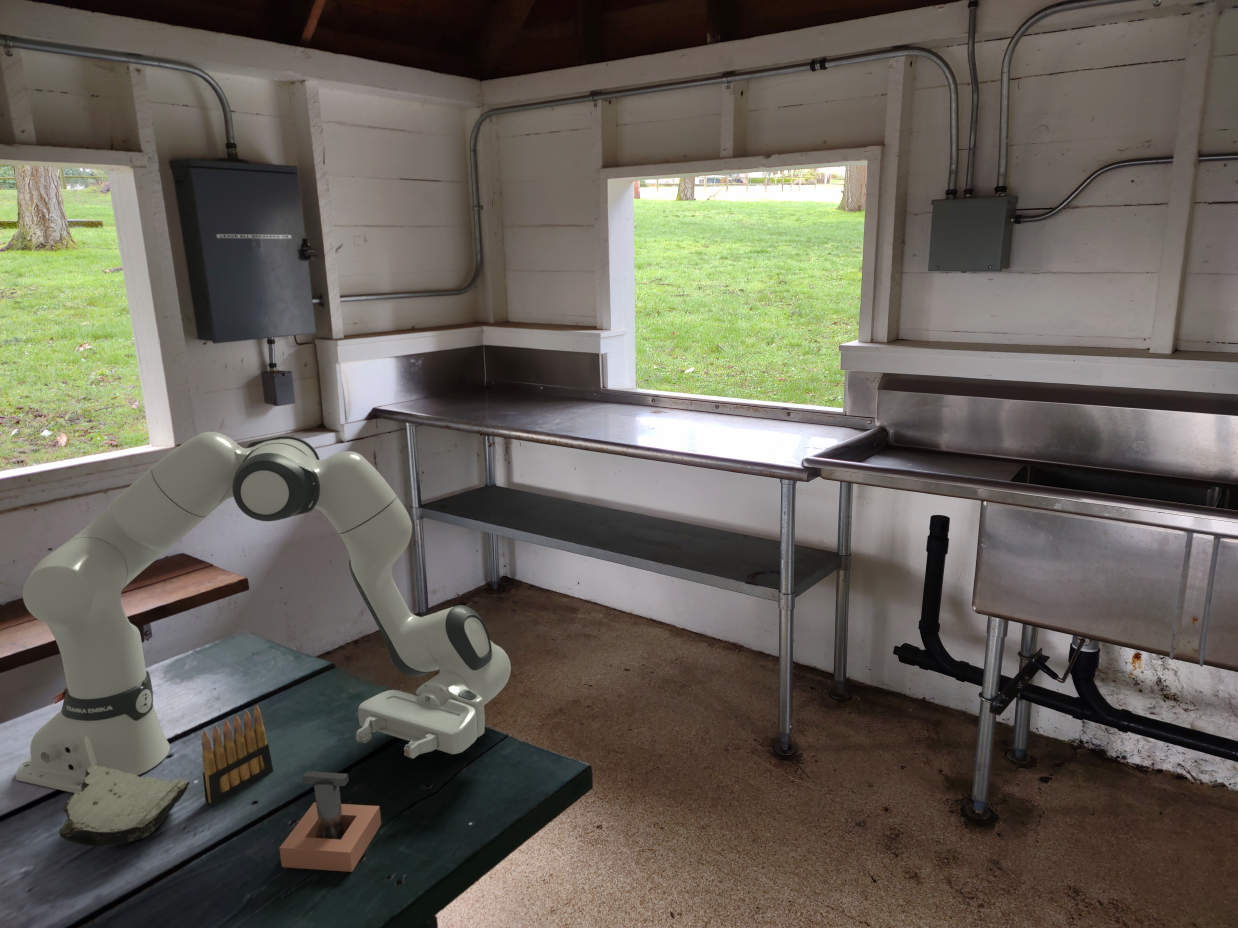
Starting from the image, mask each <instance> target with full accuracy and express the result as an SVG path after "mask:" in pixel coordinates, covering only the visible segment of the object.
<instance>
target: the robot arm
mask: <svg viewBox="0 0 1238 928" xmlns="http://www.w3.org/2000/svg"><path fill="white" fill-rule="evenodd" d="M231 498H233V499H234V502H235V503H236V506H237V508H239V510H240V511H241V512H242V513H243V514H245V516H247V517H249V518H251V519H253V520H257V521H261V522H275V521H281V520H284V519H288V518H291V517H296V516H299V515H300V516H301V515H304V514H308V513H311V512H312V511H313V510H314V509H317V510H319V511H320V512H321V513H322V514H323V515H325V517H326V518H327V519H328V520H329V522H330V523H331V525H332V527H333V528H334V529H335V531H336V532H337V534H338V535H339V537H340V538H341V540H342V541H343V543H344V545H345V547H346V549H347V552H348V554H349V555H348V556H349V559H348V567H349V572H350V575H351V577H352V580H353V582H354V584H355V586H356V588H357V589H358V593H359V594H360V595H361V597H362V599H363V601H364V604H365V605H366V607H367V609H368V611H369V612H370V615H371V617H372V618H373V620H374V622H375V623H376V625H377V627H378V629H379V631H380V633H381V635H382V637H383V640H384V642H385V646H386V649H387V652H388V656H389V658H390V660H391V662H392V664H393V666H394V667H395V668H396V669H397V670H398V671H399V672H400V673H401V674H403V675H405V676H407V677H409V678H420V677H423V676H426V675H428V674H430V673H433V672H435V671H438V670H439V672H438V674H437V675H434V676H433V677H432V678H431V679H429V680H428V681H425V682H424V683H423V684H422V685H419V687H418V688H417V689H416V691H415V694H411V693H410V692H409V693H408V692H406V691H405V692H404V691H401V690H398V689H397V690H396V689H391V690H390V689H389V690H385V691H383V692H380V693H378V694H376V695H374V696H372V697H369V698H367V699H365V700H364V701H363V702H361V703H360V704H359V706H358V710H357V711H358V713H357V714H358V721H359V722H358V723H359V726H360V727H361V728H359V729H358V730H356V733H355V738H356V739H355V740H356V741H357V742H360V743H363V744H367V742H369V741H371V740H372V739H373V736H372V735H373V734H372V733H375V732H378V733H382V734H385V735H388V736H392V737H395V738H398V739H401V740H405V741H407V742H408V743H407V744H405V745H404V747H403V751H404V752H403V753H404V754H403V755H404V756H405V757H407V758H410V759H415V758H416V757H418V756H419V755H423V754H425V753H430V752H433V751H435V750H437V751H441V752H444V753H447V754H450V755H457V754H460V753H463V752H464V751H465V750H467V749H468V748H469V747H471V745H473V744H474V743H475V742H476V740H477V738H480V737H481V736H482V735H484V734H485V730H486V729H485V728H486V727H485V725H486V723H485V722H486V720H485V719H486V718H485V715H486V714H485V705H486V704H488V703H489V702H490V701H491V700H493V699H494V698H495V697H496V696H497V695H498V694H499V693H500V692H501V691H502V690H503V689H504V688H505V687H506V685H507V683H508V682H509V679H510V677H511V670H512V667H511V660H510V658H509V656H508V654H507V653H506V651H505V650H504V649H503V648H502V647H501V646H499V645H497V644H495V643H494V642H493V641H492V640H491V637H490V634H489V631H488V629H487V626H486V624H485V623H484V620H483V619H482V617H481V616H480V615H479V614H478V613H477V612H476V610H474V609H473V608H471V607H469V606H467V605H464V604H462V605H460V604H459V605H455V606H451V607H448V608H446V609H442V610H438V611H436V612H434V613H431V614H427V615H424V616H419V615H415V614H414V613H412V612H411V611H410V609H409V607H408V605H407V604H406V602H405V600H404V598H403V596H402V593H401V592H400V590H399V588H398V587H397V584H396V582H395V580H394V577H393V566H394V565H395V563H396V562H397V560H398V559H399V558H400V557H401V556H402V555H403V553H404V552H405V551H406V549H407V547H408V546H409V544H410V541H411V538H412V534H413V533H412V532H413V523H412V520H411V517H410V515H409V513H408V512H409V511H407V509H406V507H405V506H404V504H403V503H402V502H401V500H400V499H399V498H398V495H397V494H396V492H394V490H393V488H392V487H391V486H390V485H389V484H388V482H387V481H386V479H385V478H384V477H383V476H382V474H380V473H379V471H378V470H377V469H376V468H375V467H374V466H373V465H372V464H371V463H370V462H369V461H368V460H367V459H366V458H365V457H364V456H363V455H362V454H361V453H358V452H355V451H351V450H349V451H348V450H347V451H341V452H337V453H334V454H332V455H329V456H328V457H326V458H324V459H320V457H319V454H318V453H317V451H316V449H315V448H314V447H313V446H312V445H311V444H310V443H308V441H306V440H304V439H301V438H299V437H296V436H278V437H272V438H267V439H263V440H257V441H253V442H251V443H249V444H248V445H247V446H246V447H245V448H244V447H242V446H241V445H240V444H238V443H237V442H236V441H235V440H233V439H232V438H231V437H229V436H227V435H225V434H223V433H220V432H217V431H204V432H201V433H199V434H197V435H196V436H194V437H192V438H190V439H189V440H187V441H185V442H183V443H182V444H180V445H178V446H177V447H176V448H174V449H172V450H171V451H170V452H169V453H167V454H166V455H165V456H164V457H162V458H161V459H159V460H158V461H157V462H156V463H154V464H153V465H152V466H151V467H150V468H149V469H148V470H147V471H146V472H144V473H143V474H142V475H140V477H138V478H137V480H135V481H134V482H133V483H131V484H130V485H129V486H128V487H127V488H126V489H125V490H124V491H123V492H121V493H120V494H119V495H118V496H116V498H114V500H113V501H112V502H111V503H110V504H109V505H108V506H106V508H105V509H104V510H103V511H102V512H101V513H99V514H98V515H97V516H96V517H95V518H93V520H92V521H90V523H89V524H88V525H87V526H85V527H84V528H83V529H82V530H81V531H79V532H78V533H77V534H76V535H74V536H73V537H72V538H70V539H69V540H67V541H66V542H65V543H63V544H62V545H61V546H59V547H57V548H56V549H54V550H53V551H52V552H50V553H49V554H48V555H46V556H45V557H44V558H42V559H41V560H40V561H38V563H37V564H36V565H35V567H34V568H33V570H32V571H31V572H30V574H29V576H28V577H27V579H26V581H25V583H24V585H23V589H22V600H23V603H24V606H25V608H26V609H27V611H28V612H29V613H30V614H31V616H33V617H34V618H35V619H37V620H38V621H40V622H42V623H44V624H45V625H47V627H48V629H49V631H50V632H51V634H52V636H53V638H54V640H55V641H56V644H57V646H58V647H57V648H58V650H59V653H60V657H61V660H62V665H63V671H64V675H65V681H66V682H65V683H66V686H67V687H66V688H64V689H63V691H62V692H60V693H59V694H57V695H55V696H54V697H53V698H52V699H53V700H55V701H54V702H53V703H54V704H55V705H56V704H58V703H60V702H62V701H63V703H62V706H61V709H60V710H59V711H58V713H56V714H55V715H54V716H53V717H52V718H50V720H48V721H47V722H46V723H45V724H43V725H42V726H41V728H39V729H38V730H37V731H36V732H35V733H34V735H33V737H32V739H31V741H30V747H29V751H30V755H29V756H28V757H27V758H26V759H25V760H24V761H23V762H22V763H21V764H20V765H19V766H18V768H17V770H16V771H15V780H17V781H19V782H24V783H28V784H32V785H37V786H41V787H45V788H51V789H55V790H60V791H64V792H68V793H73V794H75V793H79V792H81V790H82V788H81V786H82V783H83V781H84V778H85V773H86V770H87V768H88V767H90V766H100V767H101V766H103V767H105V768H112V769H116V770H119V771H121V772H124V773H132V774H135V775H137V776H140V775H142V774H144V773H146V772H148V771H149V770H152V769H153V768H154V767H156V766H158V765H159V764H160V763H161V762H162V761H163V760H164V759H165V758H166V757H167V756H168V754H169V752H170V750H171V745H170V743H169V741H168V739H167V737H166V735H165V733H164V732H163V729H162V726H161V724H160V721H159V719H158V715H157V712H156V710H155V709H156V708H155V706H154V690H153V685H152V678H151V675H150V672H149V671H148V670H147V668H146V661H145V656H144V648H143V642H142V636H141V632H140V630H139V628H138V627H137V626H136V625H135V624H133V623H131V622H130V620H129V618H128V616H127V614H126V612H125V610H124V607H123V603H122V599H121V598H122V596H121V595H122V592H123V590H124V588H126V586H128V585H129V584H130V583H131V582H133V580H134V579H135V578H136V577H137V576H138V575H140V574H141V573H142V572H143V571H144V570H145V569H147V568H148V567H149V566H150V565H151V564H153V563H154V562H155V561H156V560H157V559H159V558H160V557H161V556H163V554H165V553H166V552H167V551H168V550H170V549H171V548H172V547H173V546H175V544H176V545H177V543H178V542H179V541H180V540H181V539H183V537H185V536H186V535H187V534H188V533H190V531H191V530H193V529H195V528H196V526H198V525H199V524H200V523H201V522H202V521H203V520H204V519H206V518H208V516H209V515H210V514H212V512H213V511H215V510H216V509H217V508H218V507H219V506H220V505H222V504H223V503H224V502H225V501H227V500H228V499H231Z"/></svg>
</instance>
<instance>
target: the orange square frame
mask: <svg viewBox="0 0 1238 928" xmlns="http://www.w3.org/2000/svg"><path fill="white" fill-rule="evenodd" d="M341 808H342V817H343V827H344V836H343V837H342V839H341V840H339V839H323V838H320V832H319V823H318V815H317V806H316V801H315V802H313V803H312V804H311V806H310V807H309V808H308V810H307V811H306V812H305V814H304V815H303V816H302V817H301V818H300V820H299V821H298V823H297V824H296V825H295V826H294V828H293V830H292V831H291V832H290V834H289V835H288V836H287V837H286V838H285V840H284V841H283V842H282V844H281V845H280V846H279V848H278V849H279V855H280V863H281V867H282V868H291V869H302V870H303V869H305V870H306V869H307V870H319V871H321V870H322V871H336V872H348V873H349V872H350V873H352V872H353V871H354V870H355V868H356V866H357V865H358V863H359V861H360V860H361V859H362V856H363V855H364V853H365V852H366V850H367V848H368V847H369V845H370V843H371V842H372V840H373V838H375V835H377V832H378V830H379V828H380V827H381V825H382V819H381V816H382V815H381V809H380V808H381V807H380V805H367V804H366V805H365V804H364V805H363V804H351V803H349V804H347V803H341Z"/></svg>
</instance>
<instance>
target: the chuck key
mask: <svg viewBox="0 0 1238 928" xmlns="http://www.w3.org/2000/svg"><path fill="white" fill-rule="evenodd" d="M302 779H303V784H309V785H312V784H313V788H314V797H315V802H316V806H317V815H318V823H319V832H320V838H323V839H339V840H341V839H342V837H343V836H344V834H345V833H344V827H343V817H342V808H341V804H342V801H341V791H340V786H341V787H345V786H346V785H347V784H348V782H349V774H348V773H343V772H342V773H339V772H327V771H326V772H325V771H314V770H313V771H311V770H308V771H306V772H305V773H304V774H303V775H302Z"/></svg>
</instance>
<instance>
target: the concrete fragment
mask: <svg viewBox="0 0 1238 928" xmlns="http://www.w3.org/2000/svg"><path fill="white" fill-rule="evenodd" d="M190 783H191V782H190V780H185V779H175V780H165V779H162V778H158V777H151V776H144V777H142V776H141V777H140V775H135V774H132V773H124V772H121V771H119V770H116V769H112V768H105V767H103V766H101V767H100V766H90V767H88V768H87V770H86V773H85V778H84V781H83V783H82V786H81V788H82V790H81V792H79V793H73V795H72V796H71V797H70V798H69V799H68V800H67V802H66V804H65V806H64V808H63V813H65V814H66V816H67V819H66V820H65V823H64V824H62V826H61V827H60V828H59V837H60V838H62V839H64V840H66V841H69V842H71V843H73V844H77V845H78V844H79V845H81V846H87V847H100V848H101V847H112V846H116V845H117V846H118V845H122V844H127V843H130V842H133V841H138V840H140V839H143V838H146V837H148V836H150V834H151V833H153V832H154V831H156V829H157V828H158V827H159V826H160V825H161V824H162V823H163V821H164V820H165V819H166V817H168V815H169V813H171V811H172V810H173V808H174V807H175V805H176V804H177V803H179V801H180V800H181V799H182V797H183V796H184V795H185V793H186V791H187V790H188V787H189V785H190Z"/></svg>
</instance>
